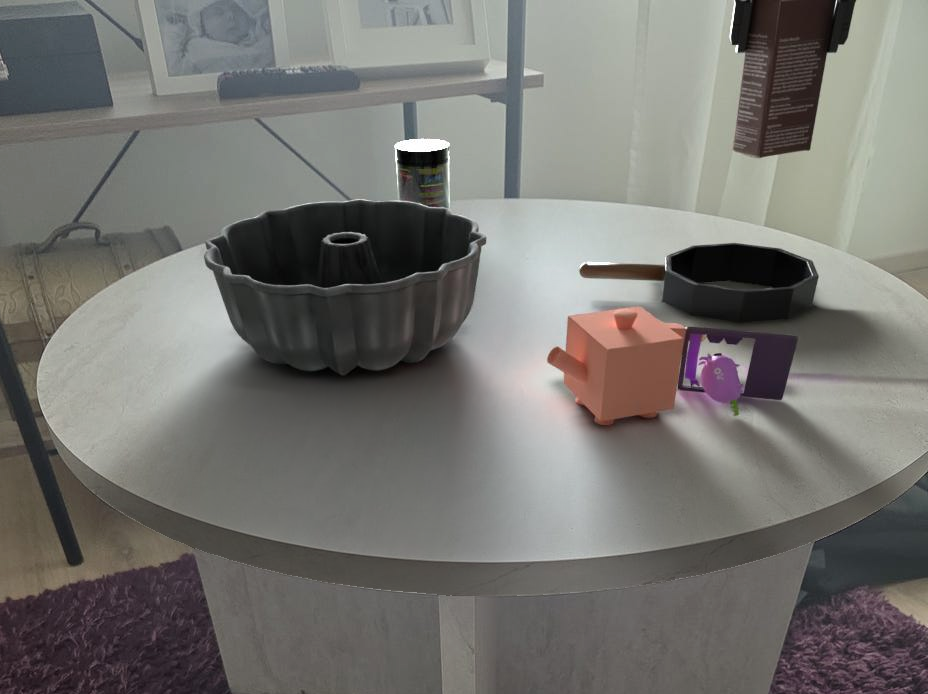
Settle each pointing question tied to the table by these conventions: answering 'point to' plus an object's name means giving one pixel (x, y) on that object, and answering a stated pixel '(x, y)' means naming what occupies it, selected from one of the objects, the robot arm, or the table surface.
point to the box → (782, 76)
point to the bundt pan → (347, 281)
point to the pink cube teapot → (621, 362)
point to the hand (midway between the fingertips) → (785, 51)
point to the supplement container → (423, 172)
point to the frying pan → (723, 263)
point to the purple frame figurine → (721, 371)
